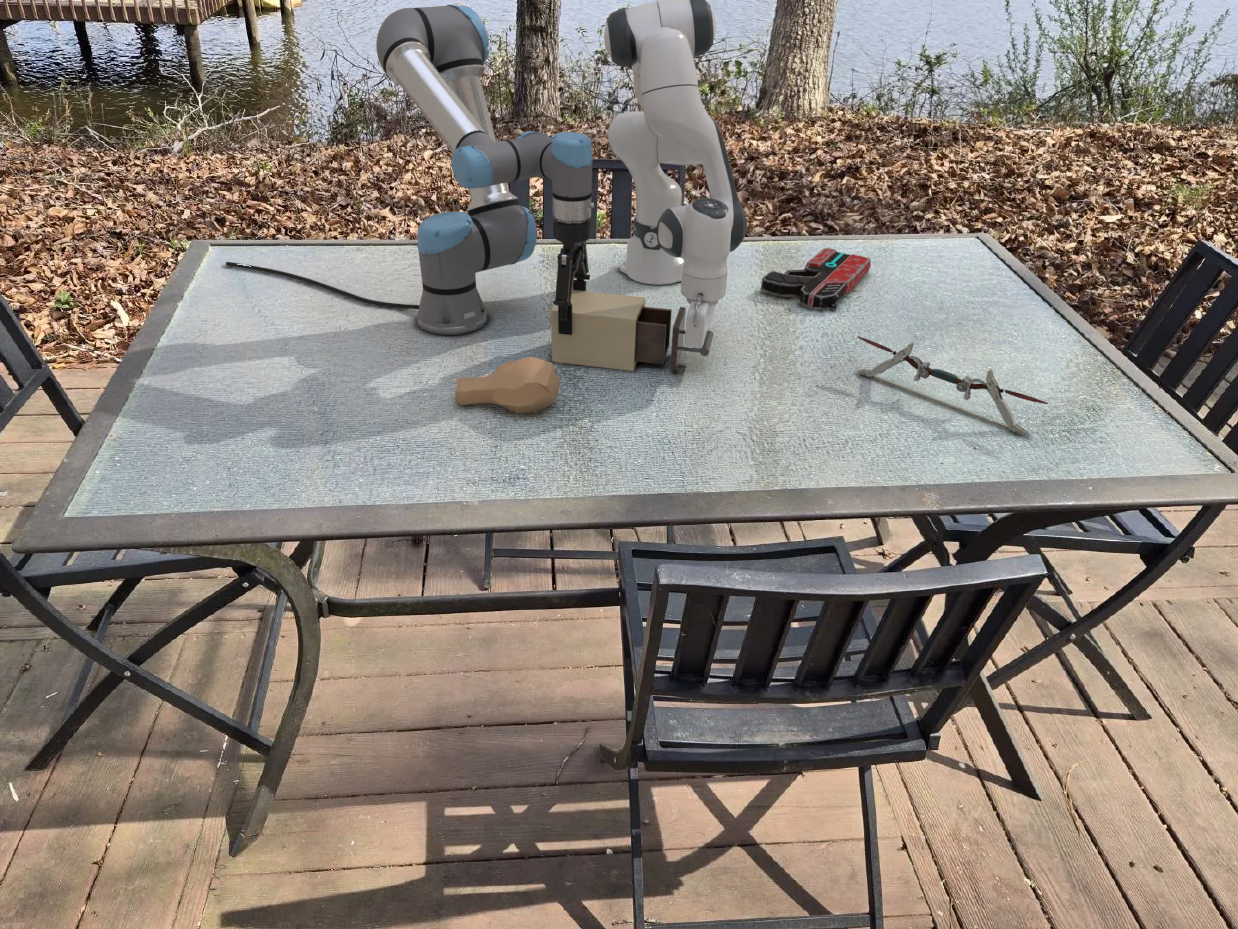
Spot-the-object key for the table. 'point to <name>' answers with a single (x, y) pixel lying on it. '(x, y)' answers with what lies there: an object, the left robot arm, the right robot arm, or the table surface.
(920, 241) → the table surface
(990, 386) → the bow
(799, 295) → the gun
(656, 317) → the drawer
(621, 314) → the tan box
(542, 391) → the squash
